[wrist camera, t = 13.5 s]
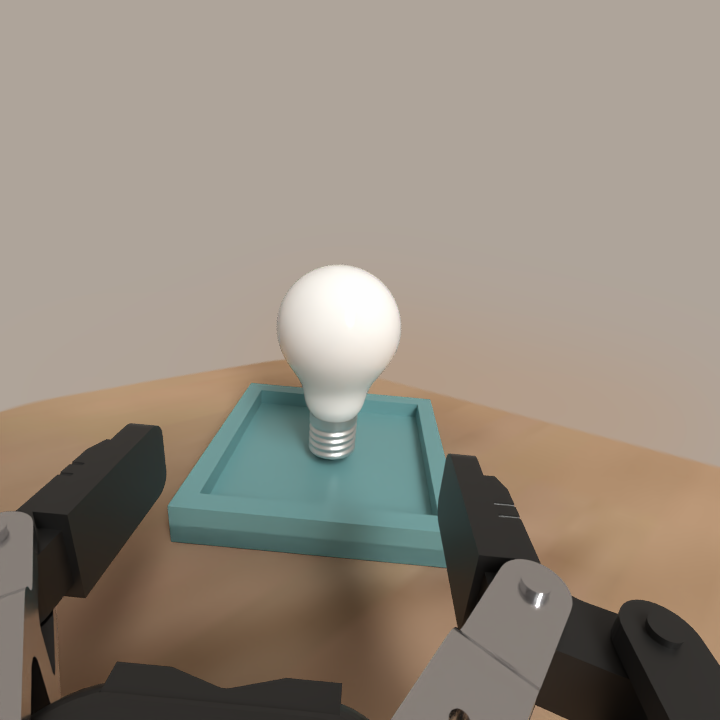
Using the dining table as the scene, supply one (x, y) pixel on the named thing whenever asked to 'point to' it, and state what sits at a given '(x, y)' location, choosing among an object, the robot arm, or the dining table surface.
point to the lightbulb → (337, 348)
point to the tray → (317, 483)
